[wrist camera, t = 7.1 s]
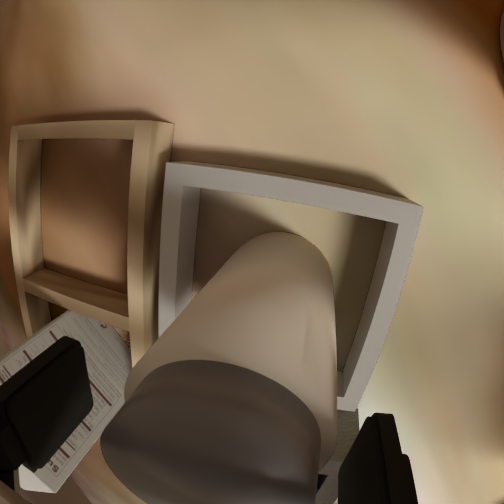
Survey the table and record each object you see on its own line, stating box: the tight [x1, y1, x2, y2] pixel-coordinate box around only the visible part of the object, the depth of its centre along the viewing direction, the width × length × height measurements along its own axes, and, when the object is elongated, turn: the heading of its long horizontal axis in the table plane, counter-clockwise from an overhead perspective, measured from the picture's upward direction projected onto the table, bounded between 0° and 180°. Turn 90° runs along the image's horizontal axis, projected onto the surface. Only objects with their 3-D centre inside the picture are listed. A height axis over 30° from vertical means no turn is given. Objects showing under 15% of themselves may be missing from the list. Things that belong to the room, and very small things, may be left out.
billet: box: [100, 232, 337, 504], centre depth 12 cm, size 6×6×13 cm
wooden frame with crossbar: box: [9, 120, 174, 368], centre depth 20 cm, size 23×12×2 cm, turn 173°
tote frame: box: [159, 161, 423, 412], centre depth 17 cm, size 12×12×2 cm
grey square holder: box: [315, 409, 359, 504], centre depth 19 cm, size 8×8×5 cm
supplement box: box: [0, 310, 132, 493], centre depth 17 cm, size 7×7×13 cm
